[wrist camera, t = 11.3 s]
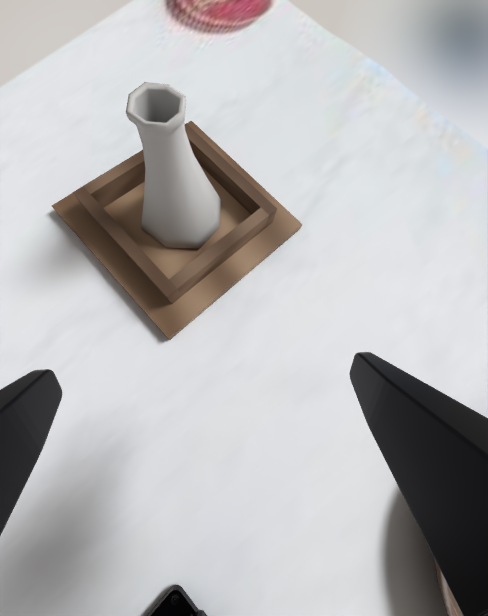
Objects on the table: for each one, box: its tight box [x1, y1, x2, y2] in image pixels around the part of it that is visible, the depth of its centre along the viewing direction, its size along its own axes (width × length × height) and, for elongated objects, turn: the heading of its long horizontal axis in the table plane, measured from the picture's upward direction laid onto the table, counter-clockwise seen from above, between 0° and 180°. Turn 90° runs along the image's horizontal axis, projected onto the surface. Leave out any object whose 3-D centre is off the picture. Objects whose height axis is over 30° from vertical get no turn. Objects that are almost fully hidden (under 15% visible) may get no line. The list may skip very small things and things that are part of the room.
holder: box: [52, 121, 302, 339], centre depth 23 cm, size 16×16×3 cm
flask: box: [126, 82, 221, 249], centre depth 19 cm, size 7×7×10 cm
